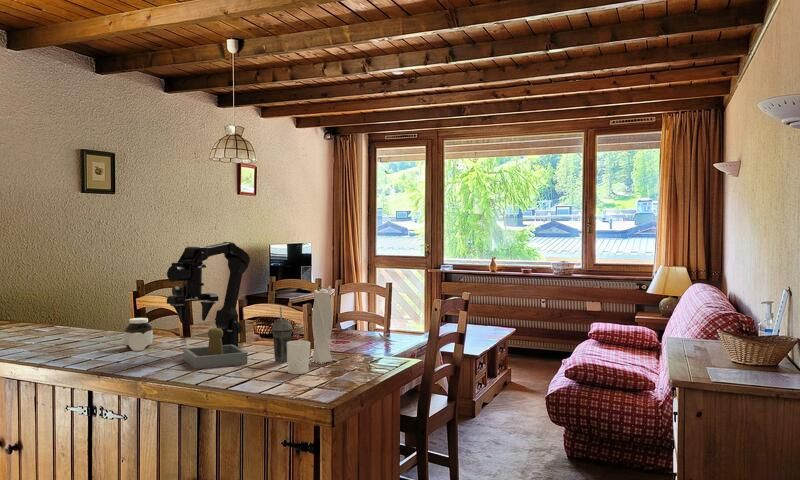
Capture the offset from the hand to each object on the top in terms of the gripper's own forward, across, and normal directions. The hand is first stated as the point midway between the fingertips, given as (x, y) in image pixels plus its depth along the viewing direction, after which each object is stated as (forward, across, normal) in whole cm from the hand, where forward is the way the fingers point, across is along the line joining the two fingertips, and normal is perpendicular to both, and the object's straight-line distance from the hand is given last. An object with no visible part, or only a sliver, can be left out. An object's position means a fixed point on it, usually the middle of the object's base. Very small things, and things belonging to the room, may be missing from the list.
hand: (192, 321), depth 216 cm
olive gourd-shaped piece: (+12, 0, +14) cm, 18 cm away
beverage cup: (+13, -15, +32) cm, 38 cm away
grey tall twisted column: (+13, -25, +43) cm, 52 cm away
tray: (+13, 0, +14) cm, 19 cm away
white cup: (+13, -8, +48) cm, 51 cm away
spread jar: (+13, +4, -29) cm, 32 cm away
